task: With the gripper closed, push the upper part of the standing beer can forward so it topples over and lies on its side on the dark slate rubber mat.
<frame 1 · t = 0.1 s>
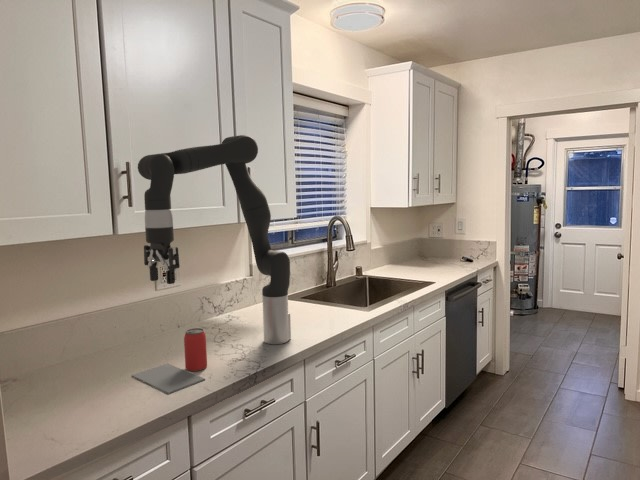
hand: (162, 282, 132), 29 cm above the worktop, fingers open, 8 cm apart
slate mat: (167, 378, 136), on the worktop
beer can: (196, 368, 144), on the worktop
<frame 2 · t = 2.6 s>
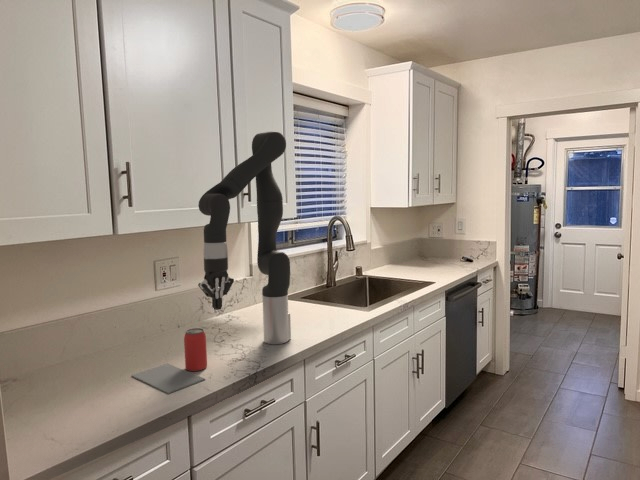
hand: (217, 309, 149), 17 cm above the worktop, fingers closed
nothing on the worktop moved.
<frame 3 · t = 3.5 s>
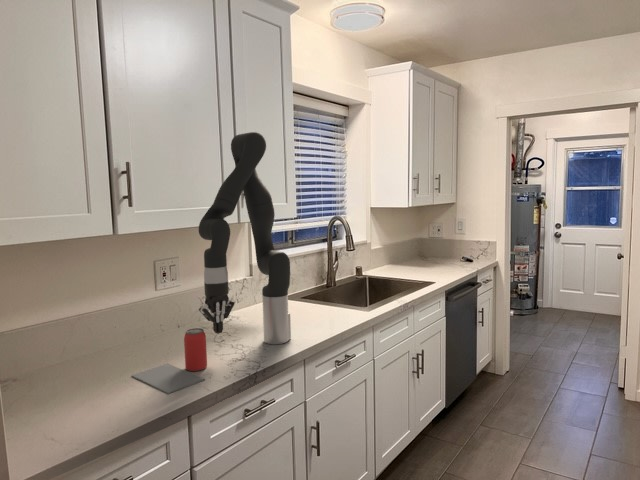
hand: (218, 332, 150), 9 cm above the worktop, fingers closed
nothing on the worktop moved.
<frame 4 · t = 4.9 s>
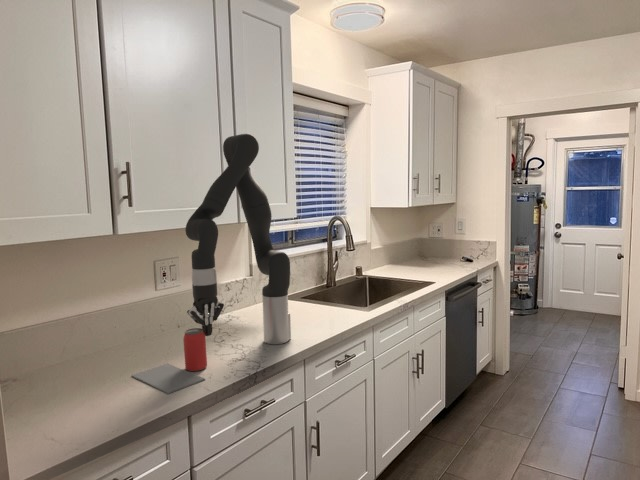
hand: (207, 335, 147), 9 cm above the worktop, fingers closed
beer can: (196, 368, 144), on the worktop, touching gripper
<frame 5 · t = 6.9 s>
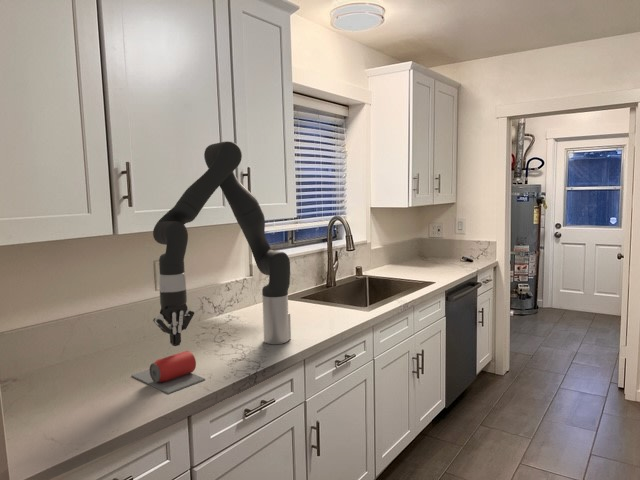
hand: (175, 345, 138), 9 cm above the worktop, fingers closed
beer can: (191, 360, 140), point 4 cm above the worktop, touching slate mat
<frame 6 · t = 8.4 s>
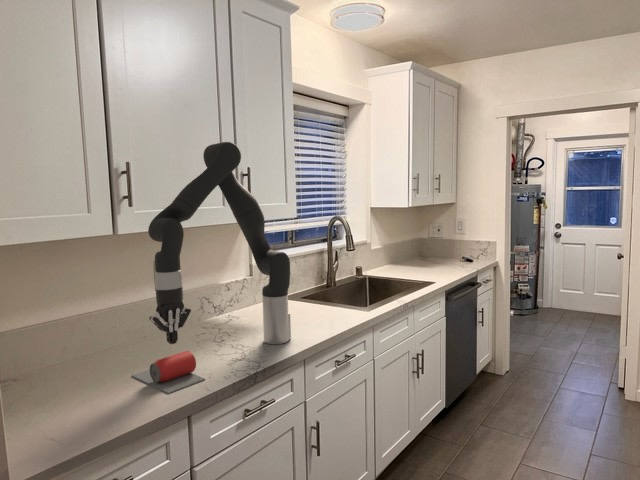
hand: (172, 343, 137), 10 cm above the worktop, fingers closed
nothing on the worktop moved.
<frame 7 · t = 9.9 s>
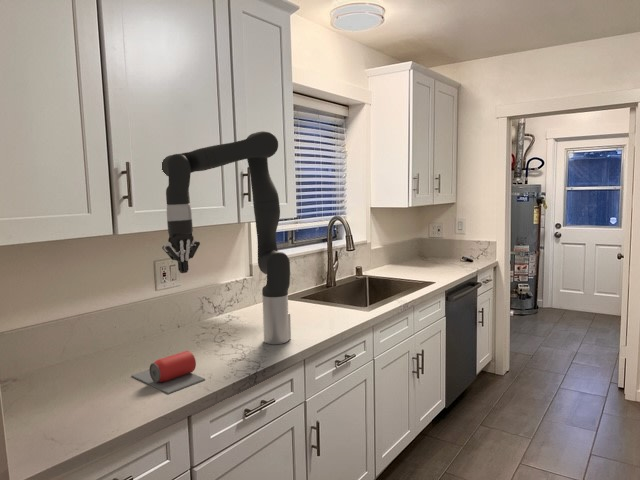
hand: (183, 272, 147), 29 cm above the worktop, fingers closed
nothing on the worktop moved.
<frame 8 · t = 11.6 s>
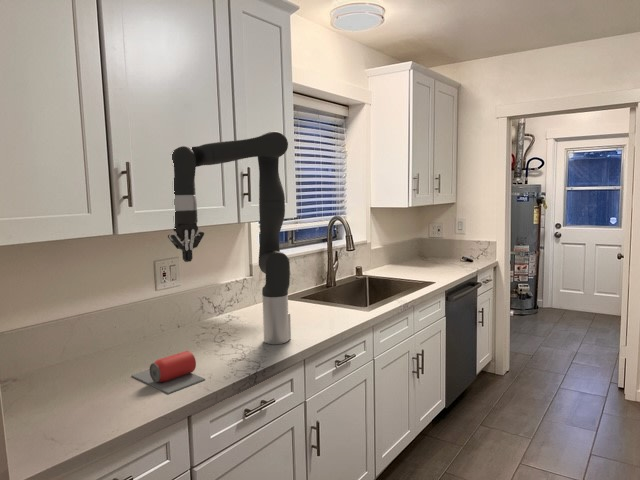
hand: (187, 261, 152), 32 cm above the worktop, fingers closed
nothing on the worktop moved.
at the end: beer can tilted 90°; beer can touching slate mat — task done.
